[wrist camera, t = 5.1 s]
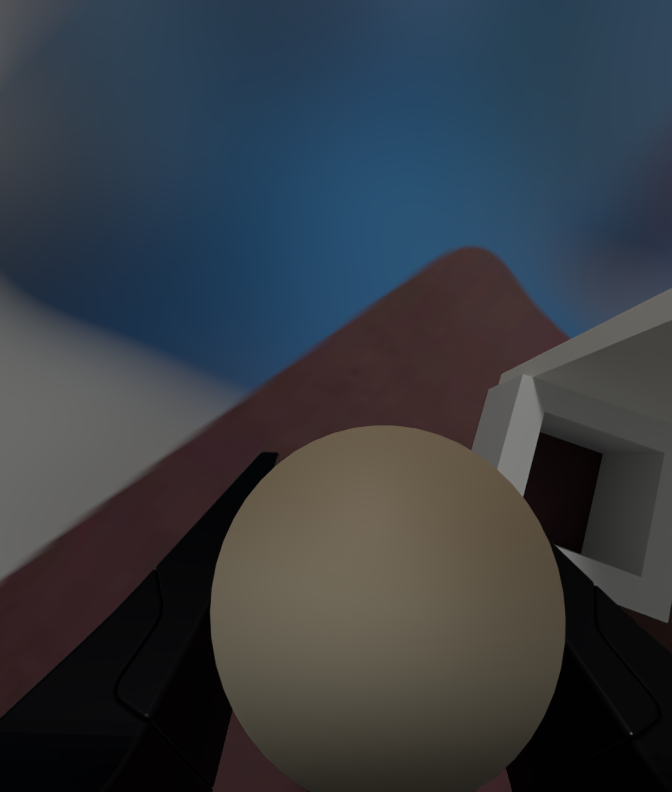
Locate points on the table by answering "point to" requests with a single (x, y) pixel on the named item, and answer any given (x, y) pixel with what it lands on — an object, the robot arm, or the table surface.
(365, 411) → the table surface
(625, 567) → the white holder stand
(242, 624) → the peg
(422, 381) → the table surface
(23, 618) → the table surface
